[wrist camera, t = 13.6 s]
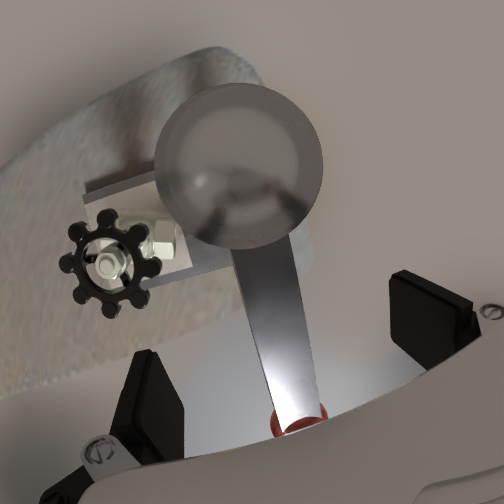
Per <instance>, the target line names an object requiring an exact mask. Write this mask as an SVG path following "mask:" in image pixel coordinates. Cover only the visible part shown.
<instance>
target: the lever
mask: <svg viewBox="0 0 504 504" xmlns="http://www.w3.org/2000/svg"><path fill="white" fill-rule="evenodd" d="M230 86H256V87H261V88H265V89H268V88H266V87H263V86H259V85H255V84H248V83H229V84H222V85H218V86H214V87H210V88H208V89H206V90H203V91H201V92H199V93H197V94H195V95H194V96H192V97H190V98H189V99H188V100H186V101H185V102H184V103H183V104H181V105H180V106H179V107H178V108H177V109H176V111H175V112H174V113H173V114H172V115H171V117H170V118H169V119H168V121H167V122H166V124H165V126H164V128H163V129H162V131H161V134H160V136H159V139H158V142H157V146H156V150H155V156H154V176H155V182H156V187H157V190H158V193H159V196H160V198H161V200H162V202H163V204H164V206H165V208H166V210H167V211H168V213H169V214H170V216H171V217H172V218H173V219H174V220H175V221H176V223H177V224H178V225H179V226H180V227H182V228H183V229H184V230H185V231H186V232H187V233H189V234H190V235H192V236H194V237H195V238H197V239H199V240H201V241H203V242H205V243H207V244H210V245H213V246H217V247H221V248H227V249H229V253H230V256H231V260H232V264H233V267H234V271H235V275H236V278H237V282H238V286H239V289H240V293H241V296H242V300H243V304H244V307H245V310H246V314H247V318H248V321H249V325H250V328H251V332H252V335H253V339H254V342H255V346H256V349H257V353H258V356H259V359H260V363H261V366H262V369H263V373H264V376H265V380H266V383H267V387H268V390H269V393H270V397H271V400H272V403H273V406H274V411H273V413H272V416H271V420H270V427H271V431H272V434H273V435H274V437H278V436H281V435H285V434H288V433H291V432H294V431H297V430H300V429H303V428H305V427H308V426H311V425H314V424H316V423H319V422H322V421H324V420H327V419H328V415H327V412H326V410H325V408H324V407H323V405H322V404H321V403H320V402H319V396H318V389H317V383H316V376H315V370H314V364H313V358H312V352H311V347H310V341H309V335H308V330H307V324H306V319H305V313H304V309H303V303H302V298H301V293H300V288H299V282H298V277H297V272H296V267H295V262H294V257H293V253H292V248H291V243H290V238H289V234H288V233H290V232H291V231H292V230H293V229H295V228H296V227H297V226H298V225H299V224H300V223H301V222H302V221H303V219H304V218H305V217H306V216H307V214H308V213H309V211H310V210H311V208H312V207H313V205H314V203H315V200H316V199H317V195H318V193H319V190H320V187H321V182H322V177H321V181H320V185H319V188H318V191H317V194H316V196H315V198H314V200H313V202H312V203H311V205H310V206H309V208H308V209H307V211H306V212H305V213H304V214H303V215H302V216H301V217H300V218H299V219H298V220H297V221H296V222H295V223H294V224H292V225H291V226H289V227H288V228H286V229H285V230H283V231H281V232H279V233H277V234H275V235H272V236H269V237H266V238H262V239H257V240H246V241H245V240H232V239H227V238H223V237H220V236H217V235H214V234H212V233H210V232H208V231H206V230H204V229H202V228H201V227H199V226H198V225H196V224H195V223H194V222H193V221H192V220H191V219H189V218H188V217H187V216H186V214H185V213H184V212H183V211H182V210H181V209H180V207H179V206H178V204H177V203H176V201H175V199H174V197H173V195H172V193H171V191H170V188H169V185H168V182H167V177H166V171H165V155H166V148H167V143H168V139H169V137H170V134H171V132H172V129H173V128H174V126H175V124H176V122H177V121H178V119H179V118H180V117H181V115H182V114H183V113H184V112H185V110H186V109H187V108H188V107H189V106H190V105H192V104H193V103H194V102H196V101H197V100H198V99H199V98H201V97H203V96H205V95H206V94H208V93H211V92H213V91H215V90H218V89H222V88H225V87H230ZM269 90H271V89H269ZM271 91H274V90H271ZM274 92H276V91H274ZM276 93H278V92H276ZM278 94H279V93H278ZM280 95H281V94H280ZM282 96H283V95H282ZM284 97H285V96H284ZM322 160H323V157H322ZM322 175H323V168H322Z"/></svg>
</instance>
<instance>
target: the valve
mask: <svg viewBox="0 0 504 504" xmlns="http://www.w3.org/2000/svg"><path fill="white" fill-rule="evenodd" d="M97 224H98V227H97V229H96V230H94V231H88V230H87V229H86V226H87V224H86V223H85V222H83V221H80V222H77V223H74V224H72V225H71V226H70V227H69V229H68V235H69V238H70V239H71V240H72V241H73V242H75V243H76V245H77V249H76V252H75V254H74V255H72V252H70V253H67V254H66V255H64V256H62V257H61V258H60V260H59V267H60V269H61V270H62V271H63V272H64V273H67V274H68V273H71V272H73V273H75V274H76V276H77V278H78V280H79V286H77V287H76V288H75V289H74V291H73V298H74V300H75V301H76V302H77V303H78V304H85V303H87V302H88V300H89V299H90V298H91V297H95V298H97V299H99V300H100V301H101V302H102V308H101V310H102V313H103V315H104V316H105V317H107V318H109V319H114V318H115V317H117V315H118V313H119V312H120V310H121V305H119V304H118V302H119V301H121V300H124V299H128V300H129V301H130V302H131V304H132V306H133V307H135V308H137V309H143V308H145V307H146V306H147V304H148V302H149V299H150V292H149V291H148V289H146V290H143V289H142V288H141V287H140V283H141V280H142V278H143V277H147V278H151V279H152V278H156V277H157V276H158V275H159V274H160V272H161V270H162V266H163V265H162V261H161V260H160V259H174V258H175V255H176V244H177V223H176V221H175V220H174V219H160V218H159V219H158V220H156V219H154V218H153V217H151V216H149V215H145V214H135V215H131V216H129V217H127V218H125V217H118V213H117V212H116V211H115V210H114V209H112V208H108V209H104V210H101V211H100V212H99V213H98V215H97ZM96 239H100V245H101V251H100V252H99V254H87V255H86V252H87V249H88V247H89V246H90V245H91V243H92V242H94V241H95V240H96ZM91 263H95V264H94V266H95V269H96V271H97V272H98V274H99V276H100V277H101V278H103V279H116V278H117V277H120V279H121V281H122V283H123V287H122V289H119V290H116V291H110V290H105V289H103V288H101V287H99V286H98V285H96V284H95V283H94V282H93V281H92V280H91V278H90V277H89V275H88V273H87V270H86V265H88V264H91ZM130 264H133V266H134V272H133V277H132V279H131V278H130V275H129V273H128V272H127V270H126V269H127V268H128V267H129V265H130Z"/></svg>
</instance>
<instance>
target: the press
mask: <svg viewBox="0 0 504 504" xmlns="http://www.w3.org/2000/svg"><path fill="white" fill-rule="evenodd" d="M322 168H323V160H322V151H321V145H320V142H319V139H318V136H317V134H316V131H315V129H314V127H313V125H312V124H311V122H310V121H309V119H308V118H307V117H306V115H305V114H304V113H303V112H302V111H301V110H300V109H299V108H298V107H297V106H296V105H295V104H294V103H293V102H291V101H290V100H289V99H287V98H286V97H284V96H282V95H280V94H278V93H276V92H274V91H271V90H269V89H265V88H261V87H256V86H230V87H225V88H222V89H218V90H215V91H213V92H211V93H208V94H206V95H205V96H203V97H201V98H199V99H198V100H197V101H196V102H194V103H193V104H192V105H190V106H189V107H188V108H187V109H186V110H185V112H184V113H183V114H182V115H181V117H180V118H179V119H178V121H177V122H176V124H175V126H174V128H173V129H172V132H171V134H170V137H169V139H168V143H167V148H166V155H165V171H166V177H167V182H168V185H169V188H170V191H171V193H172V195H173V197H174V199H175V201H176V203H177V204H178V206H179V207H180V209H181V210H182V211H183V212H184V213H185V214H186V216H187V217H188V218H189V219H191V220H192V221H193V222H194V223H195V224H196V225H198V226H199V227H201V228H202V229H204V230H206V231H208V232H210V233H212V234H214V235H217V236H220V237H223V238H227V239H232V240H245V241H246V240H257V239H262V238H266V237H269V236H272V235H275V234H277V233H279V232H281V231H283V230H285V229H286V228H288V227H289V226H291V225H292V224H294V223H295V222H296V221H297V220H298V219H299V218H300V217H301V216H302V215H303V214H304V213H305V212H306V211H307V209H308V208H309V206H310V205H311V203H312V202H313V200H314V198H315V196H316V194H317V191H318V188H319V185H320V181H321V177H322ZM82 197H83V201H84V204H85V205H84V206H85V210H86V213H87V217H88V220H89V224H90V227H91V231H94V230H96V229H97V227H98V224H97V215H98V213H99V212H100V211H101V210H104V209H108V208H112V209H114V210H115V211H116V212H117V213H118V217H125V218H127V217H129V216H131V215H135V214H145V215H149V216H151V217H153V218H154V219H156V220H158V219H159V218H160V219H173V218H172V217H171V216H170V214H169V213H168V211H167V210H166V208H165V206H164V204H163V202H162V200H161V198H160V196H159V193H158V190H157V187H156V182H155V176H154V170H153V171H150V172H147V173H144V174H141V175H137V176H134V177H131V178H128V179H126V180H123V181H120V182H117V183H114V184H111V185H108V186H106V187H103V188H100V189H98V190H95V191H92V192H90V193H87V194H84V195H82ZM95 244H96V247H97V250H98V253H99V252H100V251H101V245H100V239H96V240H95ZM160 260H161V261H162V265H163V266H162V270H161V272H160V274H159V275H158V276H157V277H156V278H152V279H151V278H147V277H143V278H142V280H141V283H140V287H141V288H142V289H143V290H145V289H149V288H153V287H156V286H160V285H164V284H167V283H171V282H175V281H178V280H182V279H185V278H189V277H193V276H196V275H200V274H203V273H207V272H211V271H214V270H218V269H221V268H225V267H228V266H232V265H233V264H232V260H231V256H230V253H229V249H227V248H221V247H217V246H213V245H210V244H207V243H205V242H203V241H201V240H199V239H197V238H195V237H194V236H192V235H190V234H189V233H187V232H186V231H185V230H184V229H183V228H182V227H180V226H179V225H178V224H177V244H176V255H175V258H174V259H160ZM126 270H127V272H128V273H129V275H130V278H131V279H132V277H133V272H134V266H133V264H130V265H129V267H128V268H127V269H126ZM108 282H109V284H110V287H111V289H112V291H116V290H119V289H122V287H123V283H122V281H121V279H120V277H117V278H116V279H108Z"/></svg>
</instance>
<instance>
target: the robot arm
mask: <svg viewBox="0 0 504 504" xmlns="http://www.w3.org/2000/svg"><path fill="white" fill-rule="evenodd" d="M389 297H390V329H391V332H390V333H391V338H392V340H393V342H394V343H395V344H397V345H398V346H399V347H400V348H401V349H403V350H404V351H405V352H406V353H407V354H408V355H410V356H411V357H412V358H413V359H414V360H415V361H417V362H418V363H419V364H420V365H422V367H424V368H425V369H426V370H427V371H426V372H425V373H423V374H421V375H419V376H418V377H416V378H414V379H412V380H410V381H409V382H407V383H405V384H403V385H401V386H399V387H397V388H395V389H394V390H392V391H389V392H388V393H386V394H384V395H381V396H379V397H377V398H375V399H373V400H371V401H369V402H367V403H365V404H363V405H360V406H358V407H356V408H354V409H351V410H349V411H347V412H344V413H342V414H339V415H337V416H335V417H332V418H329V419H327V420H324V421H322V422H319V423H316V424H314V425H311V426H308V427H305V428H303V429H300V430H297V431H294V432H291V433H288V434H285V435H281V436H278V437H275V438H272V439H268V440H265V441H261V442H257V443H254V444H250V445H246V446H242V447H239V448H234V449H229V450H225V451H220V452H216V453H211V454H205V455H200V456H195V457H189V458H184V407H183V404H182V402H181V400H180V398H179V396H178V394H177V392H176V390H175V389H174V387H173V385H172V383H171V381H170V379H169V377H168V375H167V373H166V371H165V369H164V366H163V364H162V362H161V360H160V358H159V356H158V354H157V353H156V352H152V351H151V350H150V349H147V350H142V351H137V352H135V354H134V356H133V359H132V363H131V366H130V369H129V372H128V375H127V378H126V381H125V384H124V388H123V390H122V391H121V394H120V398H119V401H118V404H117V408H116V411H115V415H114V418H113V422H112V425H111V429H110V433H109V435H99V436H96V437H94V438H92V439H90V440H89V441H88V442H87V443H86V444H85V445H84V446H83V448H82V450H81V453H80V457H81V461H82V463H83V466H81V467H80V468H79V469H77V470H76V471H74V472H73V473H71V474H70V475H68V476H67V477H65V478H64V479H63V480H61V481H59V482H58V483H57V484H55V485H54V486H52V487H50V488H49V489H48V490H46V491H45V492H44V493H43V495H42V496H41V498H40V501H39V504H504V304H501V303H499V302H485V303H482V304H480V305H479V306H478V307H477V309H476V312H474V311H473V302H471V301H470V300H468V299H466V298H463V297H462V296H459V295H458V294H455V293H453V292H451V291H449V290H447V289H445V288H443V287H441V286H439V285H437V284H435V283H433V282H431V281H428V280H426V279H424V278H422V277H420V276H418V275H416V274H414V273H411V272H409V271H407V270H402V271H399V272H397V273H394V274H392V276H391V279H390V280H389Z"/></svg>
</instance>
